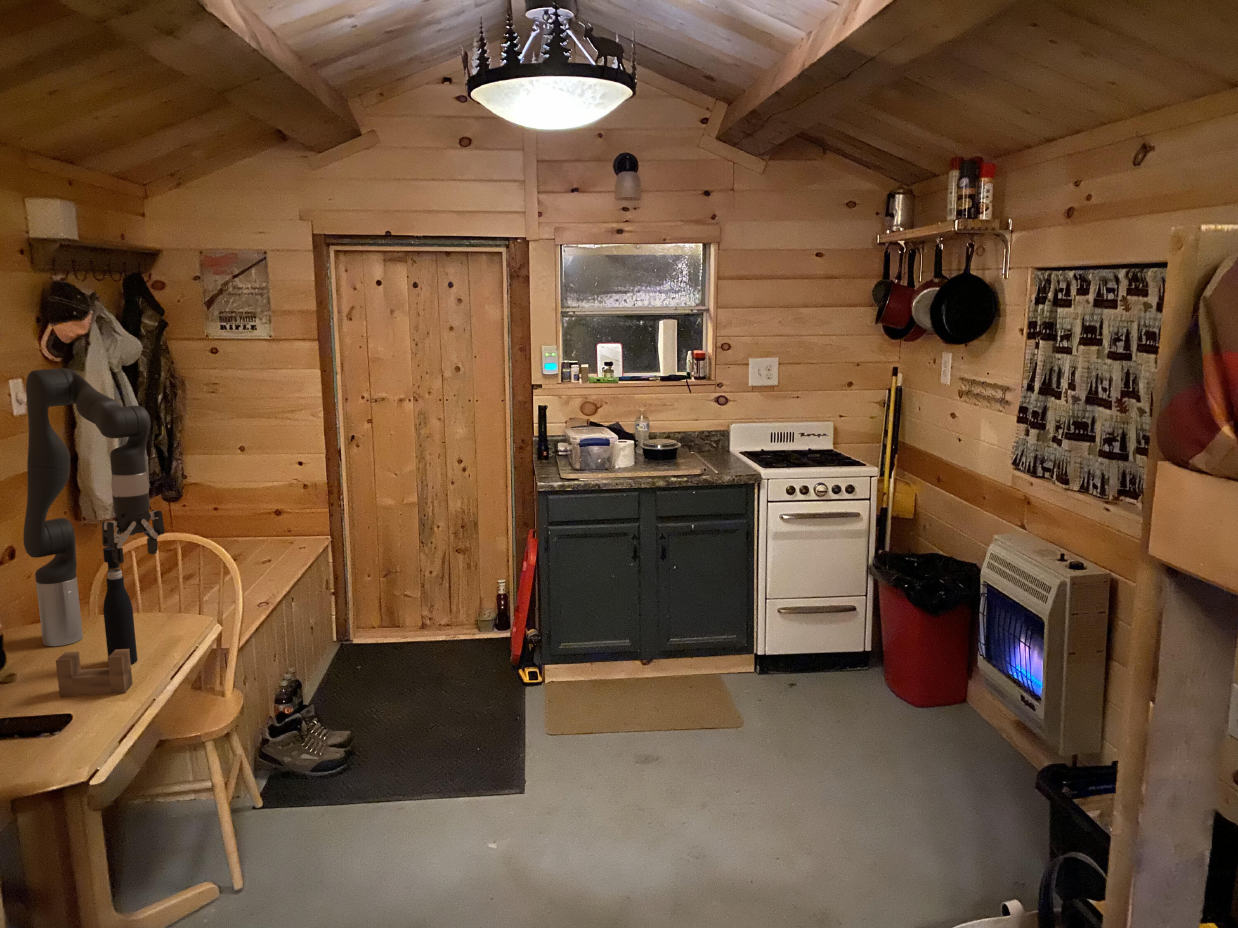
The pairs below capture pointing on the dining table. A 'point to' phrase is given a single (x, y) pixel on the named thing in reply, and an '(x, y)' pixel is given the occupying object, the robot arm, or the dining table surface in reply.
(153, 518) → the robot arm
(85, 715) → the dining table surface
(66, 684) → the walnut U-rest
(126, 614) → the black bottle
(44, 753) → the dining table surface
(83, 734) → the dining table surface
